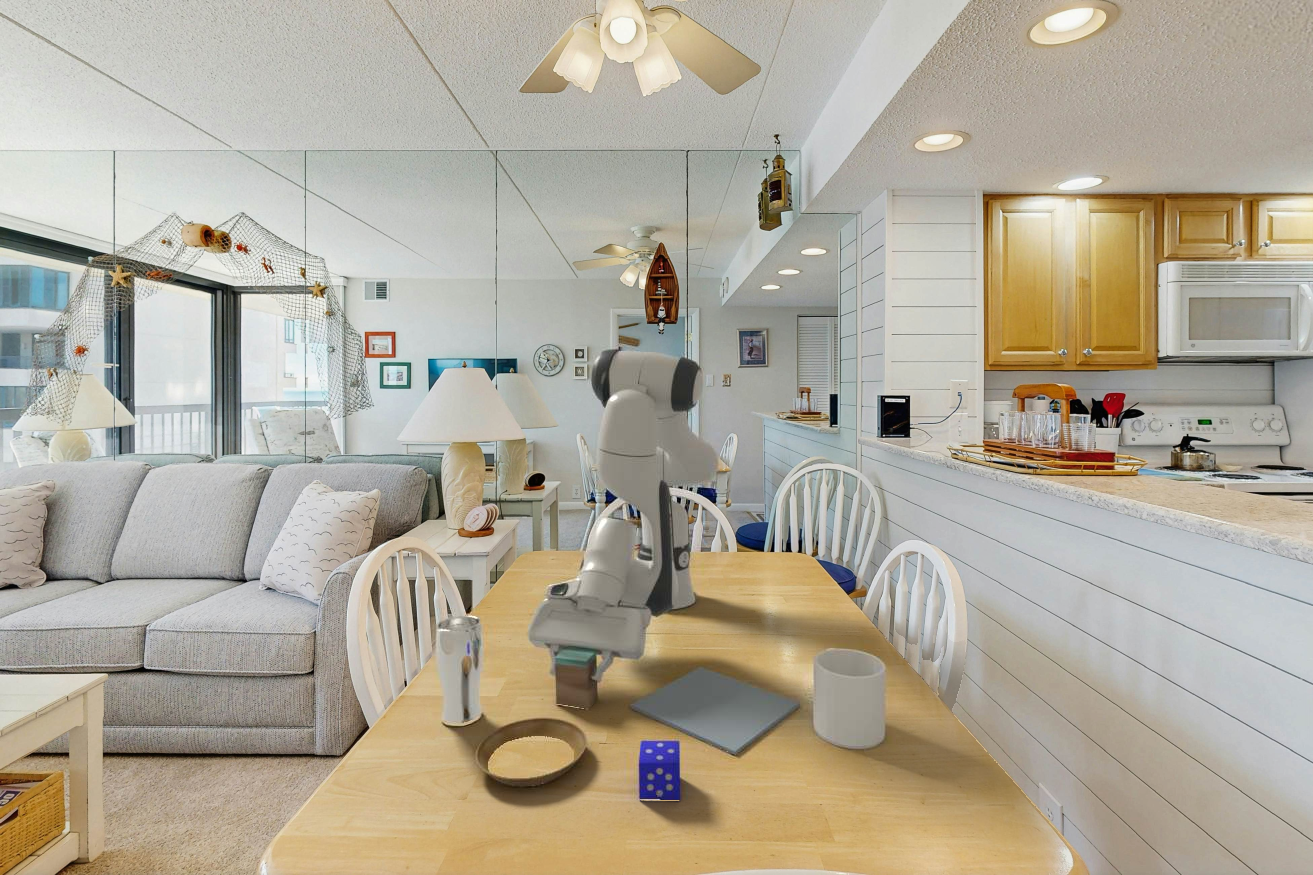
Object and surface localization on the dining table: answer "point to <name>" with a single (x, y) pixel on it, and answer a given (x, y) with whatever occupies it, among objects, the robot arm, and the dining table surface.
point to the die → (659, 770)
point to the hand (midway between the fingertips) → (574, 678)
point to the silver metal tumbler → (460, 667)
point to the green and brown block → (575, 677)
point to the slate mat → (716, 709)
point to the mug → (849, 698)
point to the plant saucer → (530, 728)
